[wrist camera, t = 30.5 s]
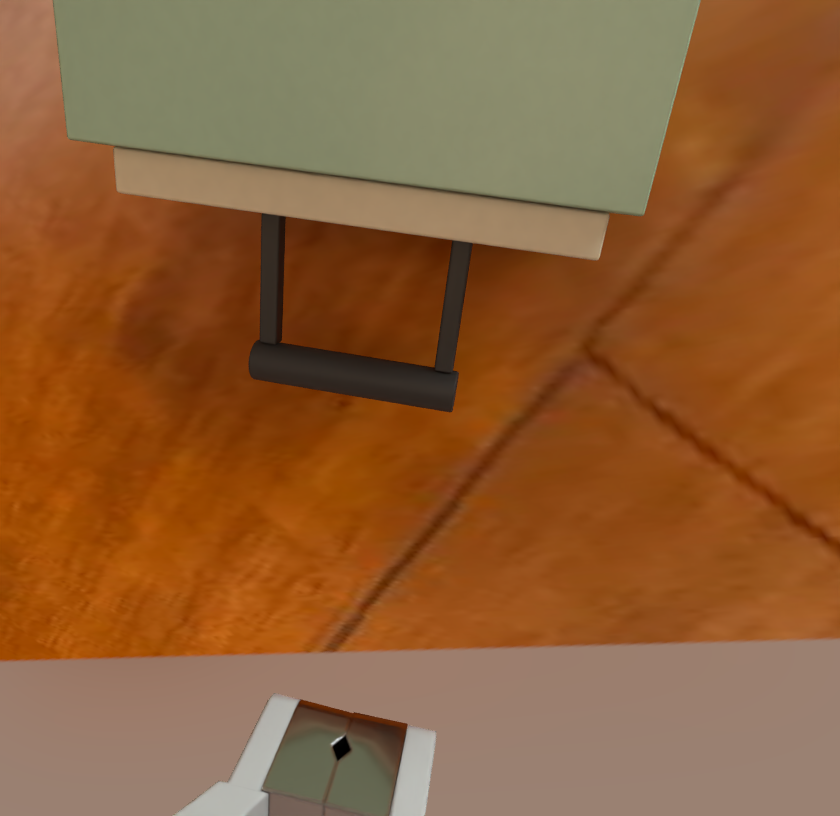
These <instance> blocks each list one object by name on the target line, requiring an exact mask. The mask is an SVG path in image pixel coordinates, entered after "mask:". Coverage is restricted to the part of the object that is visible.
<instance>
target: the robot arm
mask: <svg viewBox="0 0 840 816" xmlns="http://www.w3.org/2000/svg"><path fill="white" fill-rule="evenodd" d="M407 726H408V725H407V724H406V723H401V722H397V721H392V720H387V719H383V718H378V717H374V716H369V715H364V714H360V713H355V712H354V713H350V712H347V711H343V710H339V709H335V708H331V707H328V706H324V705H319V704H316V703H312V702H308V701H304V700H301V699H297V698H293V697H289V696H285V695H281V694H277V693H274V694H273V695H272V696H271V697H270V699H269V700H268V701H267V703H266V705H265V707H264V709H263V711H262V713H261V715H260V717H259V719H258V721H257V723H256V725H255V727H254V729H253V732H252V733H251V735H250V738H249V739H248V741H247V744H246V746H245V748H244V750H243V752H242V754H241V756H240V758H239V760H238V762H237V764H236V766H235V768H234V770H233V772H232V774H231V776H230V778H229V780H228V782H223V781H218V782H217V783H215V784H214V785H213V786H211V787H210V788H209V789H207V790H206V791H205V792H203V793H202V794H201V795H199V796H198V797H197V798H195V799H194V800H193V801H192V802H190V803H189V804H187V805H186V806H185V807H184V808H182V809H181V810H180V811H178V812H177V813H176V814H174V815H173V816H425V812H426V805H427V799H428V792H429V784H430V778H431V770H432V763H433V757H434V750H435V743H436V731H433V730H428V729H424V728H419V727H414V726H410V725H409V726H408V728H407Z"/></svg>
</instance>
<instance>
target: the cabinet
mask: <svg viewBox="0 0 840 816" xmlns="http://www.w3.org/2000/svg"><path fill="white" fill-rule="evenodd" d="M699 4H700V0H53V7H54V16H55V26H56V35H57V45H58V54H59V63H60V73H61V82H62V92H63V101H64V110H65V120H66V129H67V137H68V139H70V140H76V141H83V142H90V143H97V144H104V145H111V146H119V147H127V148H134V149H142V150H149V151H156V152H164V153H171V154H179V155H186V156H194V157H201V158H209V159H216V160H224V161H231V162H238V163H246V164H253V165H261V166H268V167H276V168H283V169H291V170H298V171H306V172H313V173H321V174H328V175H335V176H343V177H350V178H358V179H365V180H373V181H380V182H388V183H395V184H403V185H410V186H417V187H425V188H432V189H440V190H447V191H455V192H462V193H470V194H477V195H485V196H492V197H499V198H507V199H514V200H522V201H529V202H537V203H544V204H552V205H559V206H567V207H574V208H581V209H589V210H596V211H604V212H608V213H616V214H625V215H634V216H643V215H644V213H645V209H646V205H647V202H648V198H649V194H650V190H651V186H652V183H653V179H654V175H655V171H656V167H657V164H658V160H659V156H660V152H661V148H662V145H663V141H664V137H665V133H666V129H667V126H668V122H669V118H670V114H671V111H672V107H673V103H674V99H675V95H676V92H677V88H678V84H679V80H680V76H681V73H682V69H683V65H684V61H685V57H686V54H687V50H688V46H689V42H690V38H691V35H692V31H693V27H694V23H695V19H696V16H697V12H698V8H699Z"/></svg>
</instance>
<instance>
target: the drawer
mask: <svg viewBox="0 0 840 816" xmlns="http://www.w3.org/2000/svg"><path fill="white" fill-rule="evenodd" d="M113 152H114V165H115V177H116V189H117V191H118V192H119V193H123V194H130V195H137V196H144V197H151V198H158V199H165V200H172V201H179V202H186V203H194V204H201V205H208V206H215V207H222V208H229V209H236V210H243V211H250V212H257V213H262V226H261V294H260V340H257V341H256V342H255V343H254V345H253V347H252V349H251V352H250V357H249V372H250V375H251V377H252V378H253V379H256V380H262V381H268V382H274V383H280V384H285V385H291V386H297V387H303V388H309V389H315V390H321V391H327V392H333V393H339V394H345V395H351V396H357V397H362V398H368V399H374V400H380V401H386V402H392V403H398V404H404V405H410V406H416V407H422V408H428V409H434V410H439V411H445V412H452V410H453V406H454V400H455V395H456V389H457V382H458V375H459V373H458V372H457V371H453V368H454V361H455V355H456V348H457V342H458V335H459V329H460V323H461V316H462V310H463V303H464V297H465V290H466V284H467V277H468V271H469V264H470V258H471V251H472V245H473V243H476V244H483V245H490V246H497V247H504V248H511V249H518V250H525V251H532V252H539V253H546V254H553V255H560V256H567V257H574V258H581V259H588V260H598V259H599V257H600V254H601V249H602V245H603V241H604V237H605V233H606V229H607V225H608V220H609V213H608V212H604V211H596V210H589V209H581V208H574V207H567V206H559V205H552V204H544V203H537V202H529V201H522V200H514V199H507V198H499V197H492V196H485V195H477V194H470V193H462V192H455V191H447V190H440V189H432V188H425V187H417V186H410V185H403V184H395V183H388V182H380V181H373V180H365V179H358V178H350V177H343V176H335V175H328V174H321V173H313V172H306V171H298V170H291V169H283V168H276V167H268V166H261V165H253V164H246V163H238V162H231V161H224V160H216V159H209V158H201V157H194V156H186V155H179V154H171V153H164V152H156V151H149V150H142V149H134V148H127V147H119V146H116V147H114V149H113ZM286 217H292V218H299V219H306V220H313V221H320V222H328V223H335V224H342V225H349V226H356V227H363V228H370V229H377V230H384V231H391V232H398V233H405V234H412V235H419V236H426V237H433V238H440V239H447V240H452V247H451V255H450V262H449V269H448V276H447V283H446V290H445V297H444V304H443V311H442V318H441V325H440V332H439V340H438V347H437V354H436V361H435V368H434V367H427V366H421V365H415V364H409V363H403V362H397V361H390V360H384V359H378V358H372V357H366V356H360V355H353V354H347V353H341V352H335V351H329V350H323V349H316V348H310V347H304V346H298V345H292V344H286V343H279V342H281V340H282V318H283V286H284V253H285V220H286Z"/></svg>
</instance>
